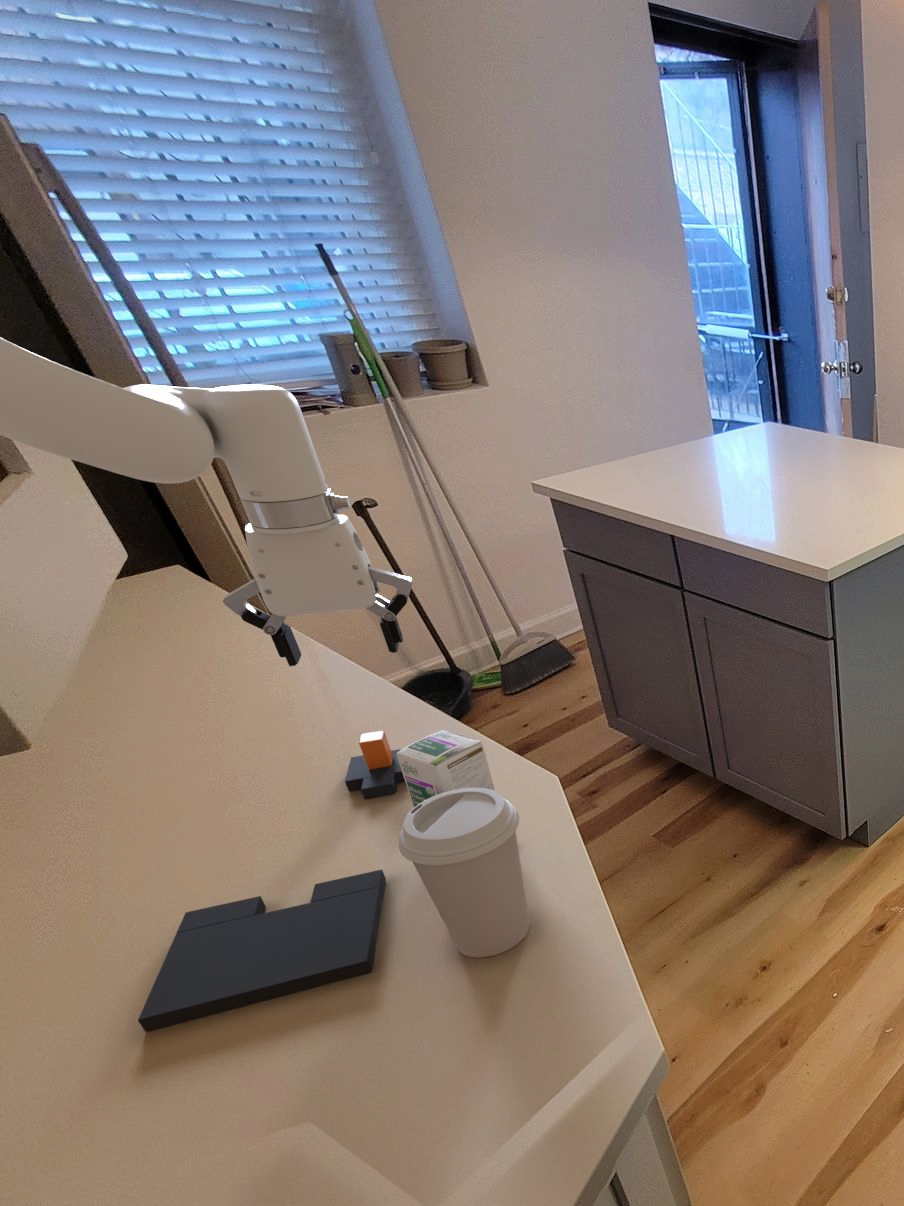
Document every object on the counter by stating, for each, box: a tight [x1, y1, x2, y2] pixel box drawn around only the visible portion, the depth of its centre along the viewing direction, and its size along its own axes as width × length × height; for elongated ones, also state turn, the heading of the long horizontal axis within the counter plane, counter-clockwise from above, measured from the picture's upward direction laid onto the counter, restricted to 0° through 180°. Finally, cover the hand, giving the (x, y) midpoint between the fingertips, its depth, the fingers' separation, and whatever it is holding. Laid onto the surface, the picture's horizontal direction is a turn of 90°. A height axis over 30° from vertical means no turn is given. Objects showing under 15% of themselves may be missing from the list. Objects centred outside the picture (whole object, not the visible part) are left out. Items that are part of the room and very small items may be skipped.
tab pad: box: [344, 730, 405, 800], centre depth 98 cm, size 7×9×6 cm
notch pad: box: [137, 869, 387, 1033], centre depth 75 cm, size 16×14×2 cm
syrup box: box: [396, 729, 496, 808], centre depth 84 cm, size 6×6×14 cm
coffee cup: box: [398, 788, 531, 959], centre depth 75 cm, size 10×10×15 cm
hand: (346, 654), depth 93 cm, fingers open, 9 cm apart
